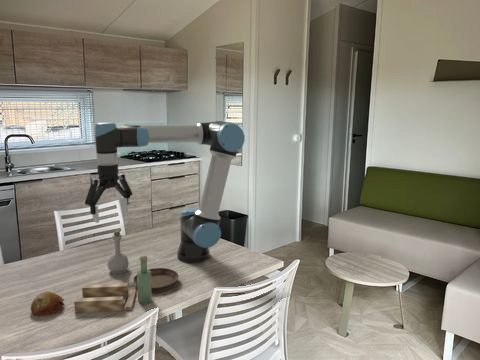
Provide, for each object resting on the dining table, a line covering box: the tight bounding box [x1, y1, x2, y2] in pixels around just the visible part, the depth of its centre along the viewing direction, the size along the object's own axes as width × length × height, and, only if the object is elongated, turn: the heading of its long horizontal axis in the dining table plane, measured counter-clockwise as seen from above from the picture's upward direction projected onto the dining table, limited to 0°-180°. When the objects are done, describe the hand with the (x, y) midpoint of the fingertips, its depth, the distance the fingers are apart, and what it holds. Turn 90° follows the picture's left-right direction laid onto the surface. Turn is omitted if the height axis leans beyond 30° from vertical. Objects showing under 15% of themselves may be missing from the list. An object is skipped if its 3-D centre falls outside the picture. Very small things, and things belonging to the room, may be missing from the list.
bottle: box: [136, 255, 153, 305], centre depth 148 cm, size 5×5×17 cm
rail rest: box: [73, 282, 137, 314], centre depth 148 cm, size 19×13×4 cm
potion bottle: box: [107, 230, 130, 275], centre depth 174 cm, size 9×9×18 cm
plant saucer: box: [132, 267, 180, 293], centre depth 164 cm, size 18×18×3 cm
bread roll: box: [30, 291, 65, 317], centre depth 143 cm, size 10×10×8 cm
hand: (110, 217), depth 159 cm, fingers open, 13 cm apart
